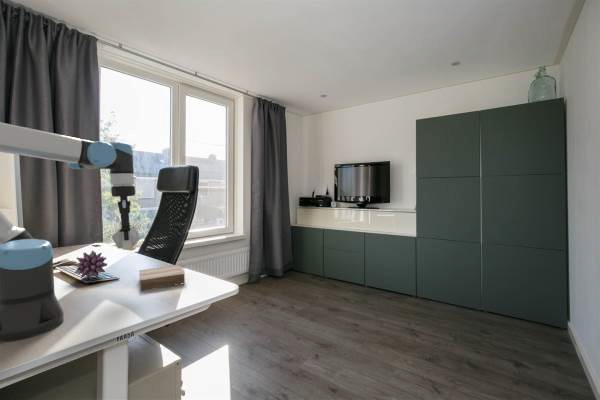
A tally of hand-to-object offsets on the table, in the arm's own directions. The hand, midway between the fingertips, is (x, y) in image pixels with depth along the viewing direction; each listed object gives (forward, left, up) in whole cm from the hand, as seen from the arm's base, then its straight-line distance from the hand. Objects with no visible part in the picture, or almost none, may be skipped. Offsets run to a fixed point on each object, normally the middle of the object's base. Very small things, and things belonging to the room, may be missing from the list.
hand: (127, 246), depth 111 cm
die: (0, 0, 0) cm, 1 cm away
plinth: (+2, -11, -16) cm, 20 cm away
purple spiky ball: (+23, +14, -16) cm, 32 cm away
